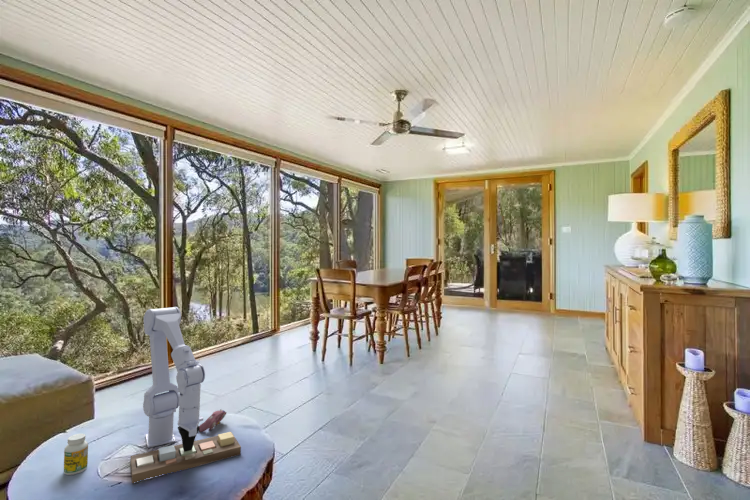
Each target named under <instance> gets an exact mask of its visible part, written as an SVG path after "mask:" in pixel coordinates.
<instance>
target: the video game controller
mask: <svg viewBox="0 0 750 500" xmlns="http://www.w3.org/2000/svg"><path fill="white" fill-rule="evenodd" d="M226 415H227V411H225V410H223V409H222V408H221V409H219V410H215V411H213V412H212V413H211V415H210V416H208V418H207V419H206V420H205V421H204V422H202V423H201V424H200V425H198V426H199V428H200V429H199V432H200V433H201V432H202V433H203V432H206V431H207V430H213V429H214V428H215V427H217V426H218V425H220V424H221V421H222V420H223V419H224V418H225V417H226ZM199 432H198V433H199Z"/></svg>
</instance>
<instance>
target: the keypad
mask: <svg viewBox="0 0 750 500" xmlns="http://www.w3.org/2000/svg"><path fill="white" fill-rule="evenodd" d="M230 432H231V431H230ZM231 433H232V434H233V432H231ZM233 436H234V443H233V444H229V445H225V446H221V447H220V446H219V444H218V435H215V436H210V437H206V438H202V439H199V440H194V444H193V445H194V447H195V450H196V453H193V454H189V455H185V456H181V457H180V454H179V449H180V448H183V445H182V443H181V444H176V445H174V447H175V450H176V455H175V458H174V459H170V460H166V461H162V462H159V458H158V455H159V449H155V450H151V451H147V452H141V453H139V454H134V455H130V457H129V459H130V463H129V464H130V475H131V477H132V478H131V484H132V483H134V482H137V481H140V480H144V479H146V478H150V477H155V476H159V475H162V474H167V473H171V472H174V473H176V472H177V471H178V472H181V471H180V470H182V471H186V470H189V469H192V468H197V467H200V466H203V465H207V464H211V463H214V462H218V461H221V460H226V459H229V458H233V457H236V456H240V455H241V454H242V446H241V444H240V443H239V442H238V440H237V438H236V437H235V435H234V434H233ZM209 441H213V442H214V444H215V448H213V449H209V450H205V451H200V449H199V444H201V443H205V442H209ZM151 455H152V456H153V460H154V464H150V465H146V466H142V467H138V468H136V460H137V459H138V458H142V457H147V456H151ZM188 468H189V469H188ZM171 474H172V473H171ZM167 475H168V474H167ZM159 477H160V476H159ZM137 483H138V482H137ZM134 484H135V483H134Z"/></svg>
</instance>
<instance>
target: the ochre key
mask: <svg viewBox="0 0 750 500" xmlns="http://www.w3.org/2000/svg"><path fill="white" fill-rule="evenodd" d="M233 435H234V433H233V432H232V433H231V431H228V432H223V433H219V434H217V436H218V444H219V446H220V447H221V446H225V445H229V444H233V443H234V437H235V435H234V436H233Z"/></svg>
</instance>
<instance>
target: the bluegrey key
mask: <svg viewBox="0 0 750 500" xmlns="http://www.w3.org/2000/svg"><path fill="white" fill-rule="evenodd" d="M174 446H175V445H174V444H172V445H168V446H163V447H159V448H158V450H159V455H158V458H159V462H162V461H166V460H170V459H174V458H175V455H176V450H175V447H174Z"/></svg>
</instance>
